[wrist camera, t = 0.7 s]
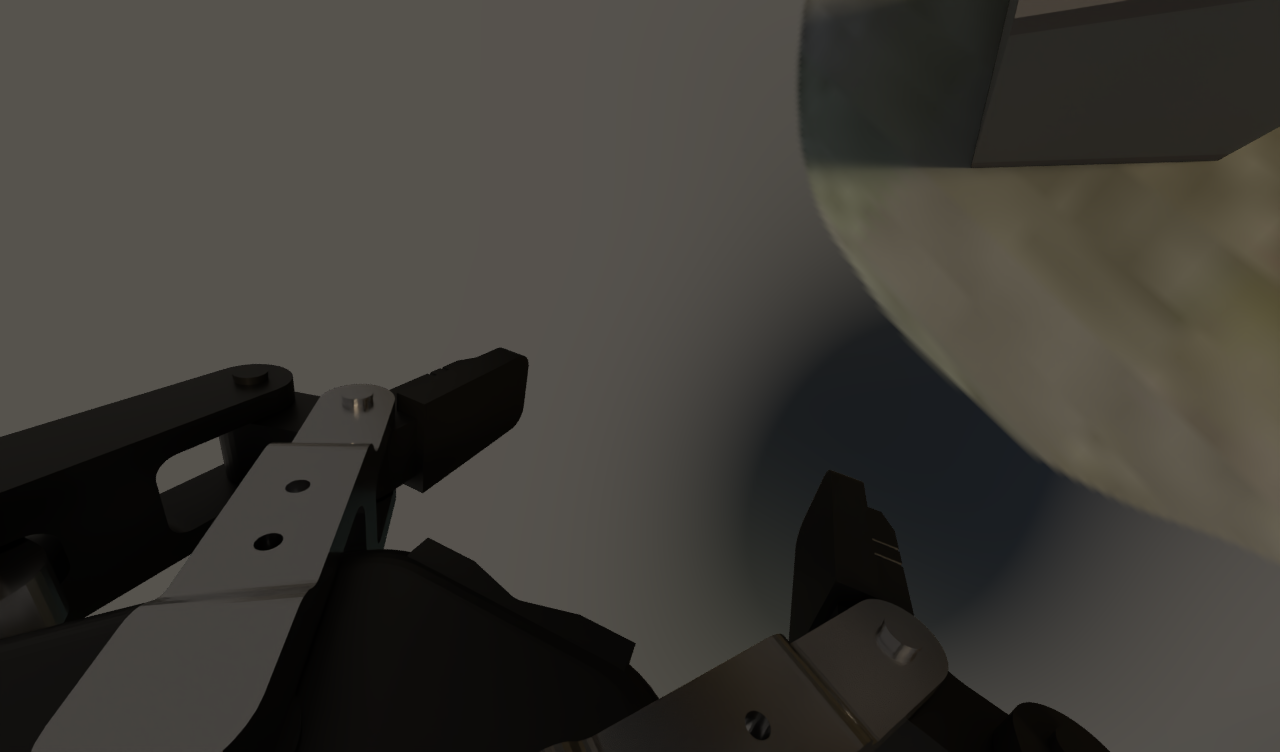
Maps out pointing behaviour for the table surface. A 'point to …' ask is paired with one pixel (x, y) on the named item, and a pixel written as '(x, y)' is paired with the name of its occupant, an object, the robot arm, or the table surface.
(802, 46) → the table surface
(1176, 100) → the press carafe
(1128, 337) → the table surface
